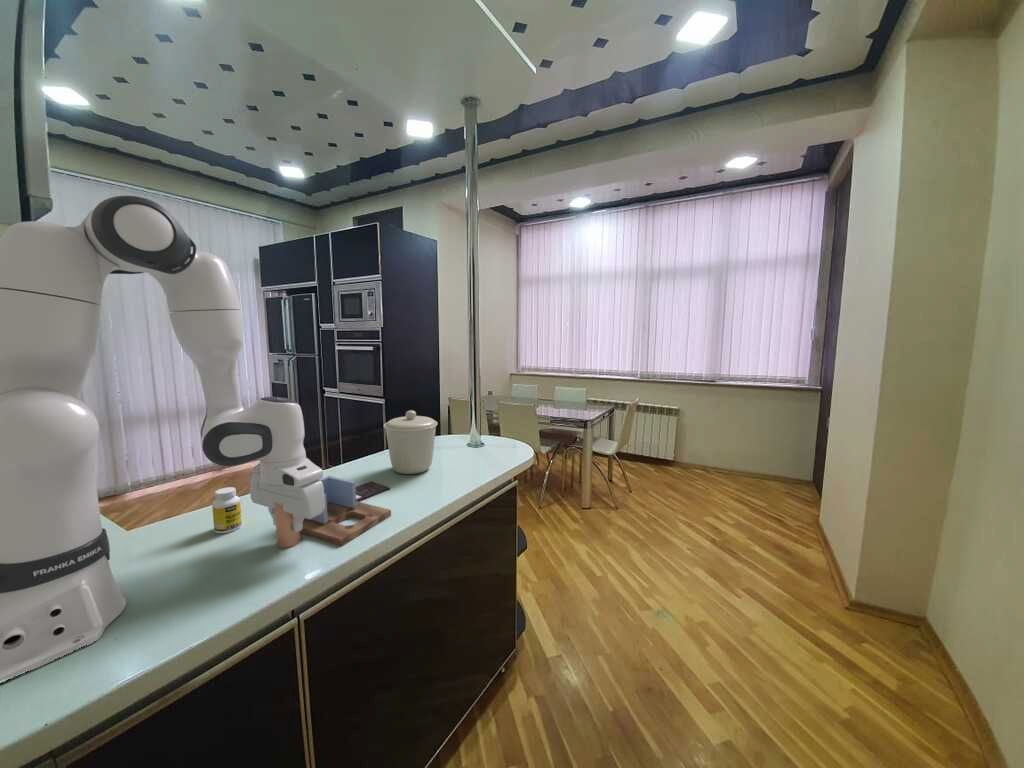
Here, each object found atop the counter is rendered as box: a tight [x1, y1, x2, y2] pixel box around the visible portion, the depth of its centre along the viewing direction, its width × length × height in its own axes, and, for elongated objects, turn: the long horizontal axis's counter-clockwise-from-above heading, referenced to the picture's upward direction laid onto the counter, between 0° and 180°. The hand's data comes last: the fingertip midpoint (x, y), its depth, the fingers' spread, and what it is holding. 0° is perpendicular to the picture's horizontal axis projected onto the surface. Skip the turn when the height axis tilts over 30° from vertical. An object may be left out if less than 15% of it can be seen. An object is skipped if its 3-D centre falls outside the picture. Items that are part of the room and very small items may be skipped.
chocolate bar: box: [355, 481, 391, 502], centre depth 113 cm, size 9×1×18 cm
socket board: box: [300, 501, 392, 547], centre depth 97 cm, size 16×20×2 cm
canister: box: [383, 409, 438, 475], centre depth 133 cm, size 18×18×21 cm
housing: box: [310, 475, 357, 524], centre depth 98 cm, size 10×10×7 cm
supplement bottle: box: [211, 486, 243, 534], centre depth 93 cm, size 5×5×10 cm
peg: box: [274, 503, 301, 549], centre depth 87 cm, size 5×5×10 cm
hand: (288, 527), depth 87 cm, fingers closed on peg, 5 cm apart
